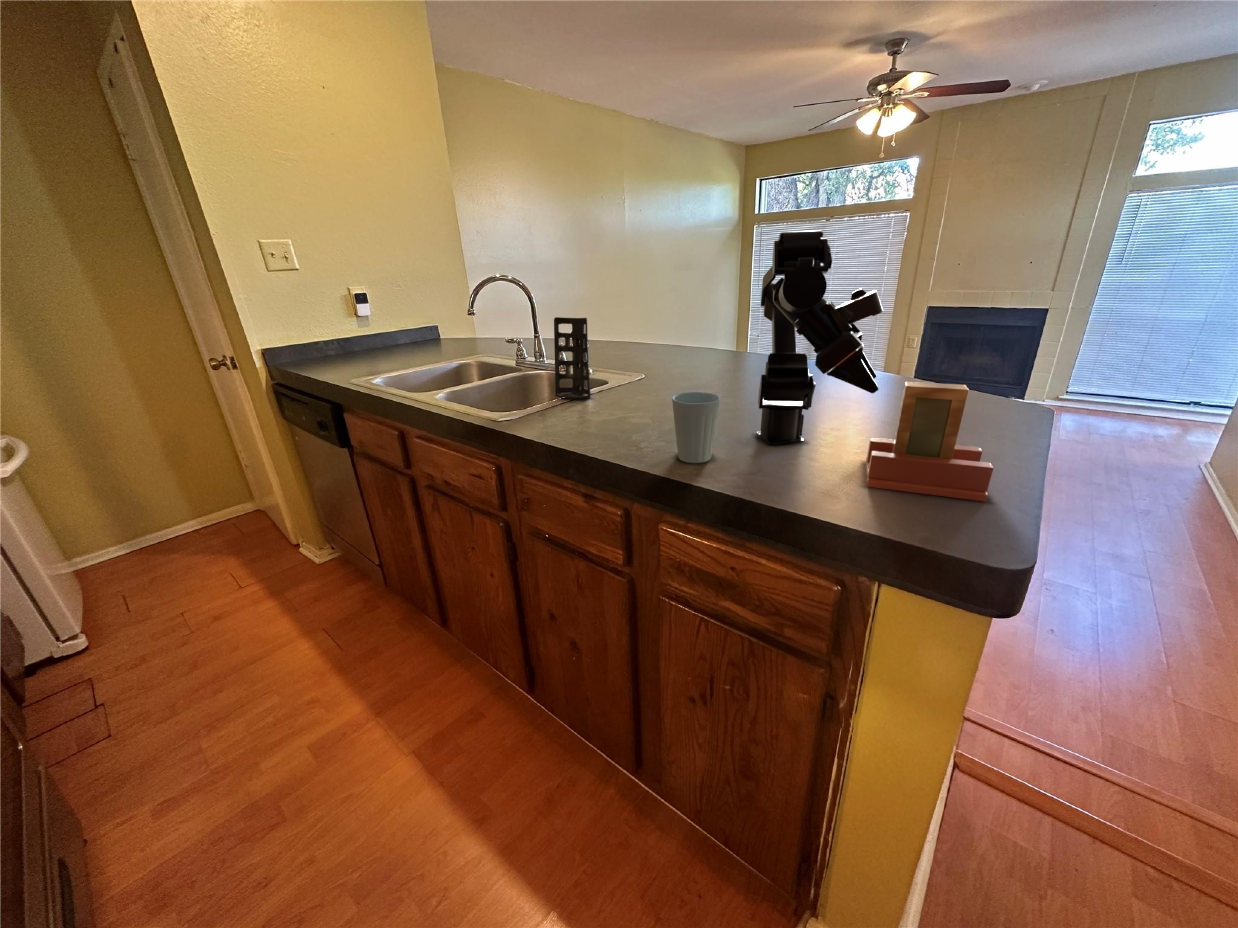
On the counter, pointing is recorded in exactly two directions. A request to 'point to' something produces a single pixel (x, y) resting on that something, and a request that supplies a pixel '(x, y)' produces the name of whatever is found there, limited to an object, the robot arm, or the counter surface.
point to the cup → (695, 425)
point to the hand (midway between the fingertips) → (874, 384)
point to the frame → (929, 419)
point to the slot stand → (928, 471)
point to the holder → (577, 362)
